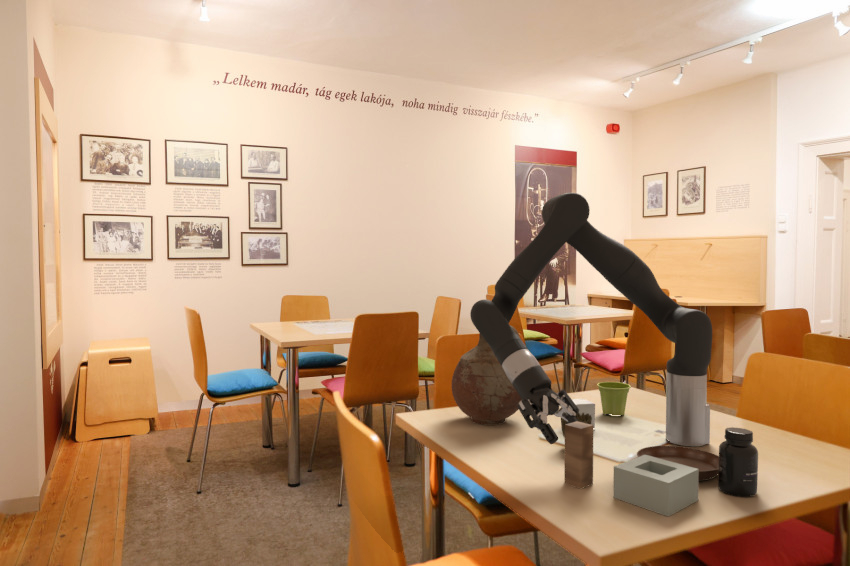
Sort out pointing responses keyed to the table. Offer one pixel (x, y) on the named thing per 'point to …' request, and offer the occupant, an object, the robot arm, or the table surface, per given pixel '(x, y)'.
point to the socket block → (656, 484)
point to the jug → (484, 386)
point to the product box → (585, 408)
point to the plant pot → (613, 397)
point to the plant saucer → (686, 458)
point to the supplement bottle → (738, 463)
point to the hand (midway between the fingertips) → (568, 438)
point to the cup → (580, 418)
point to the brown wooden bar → (578, 454)
